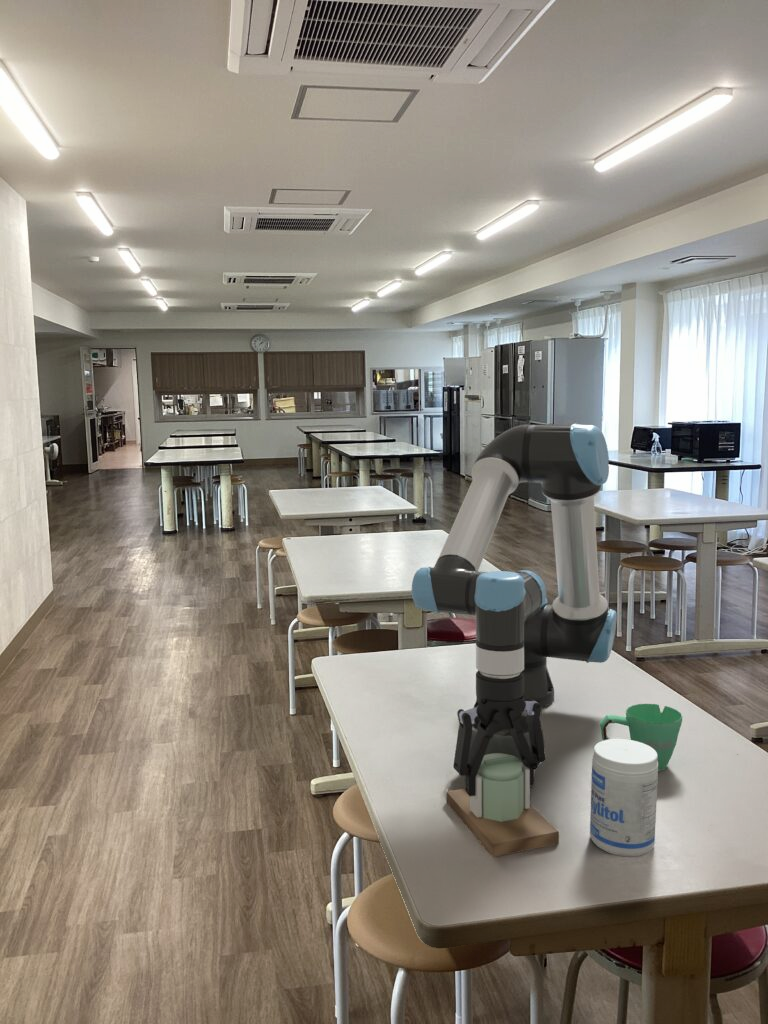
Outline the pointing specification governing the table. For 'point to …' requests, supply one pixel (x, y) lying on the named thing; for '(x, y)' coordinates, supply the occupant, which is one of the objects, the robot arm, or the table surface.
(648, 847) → the supplement tub
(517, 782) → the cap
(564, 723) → the table surface
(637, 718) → the mug
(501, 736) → the bowl
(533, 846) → the stud block
